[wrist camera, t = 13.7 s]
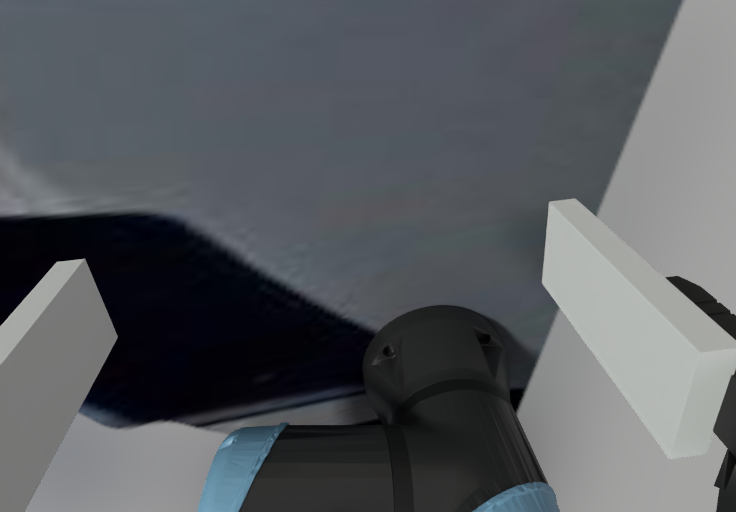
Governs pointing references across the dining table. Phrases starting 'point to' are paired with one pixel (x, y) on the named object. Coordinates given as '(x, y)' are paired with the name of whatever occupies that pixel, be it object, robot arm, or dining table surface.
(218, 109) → the dining table surface
